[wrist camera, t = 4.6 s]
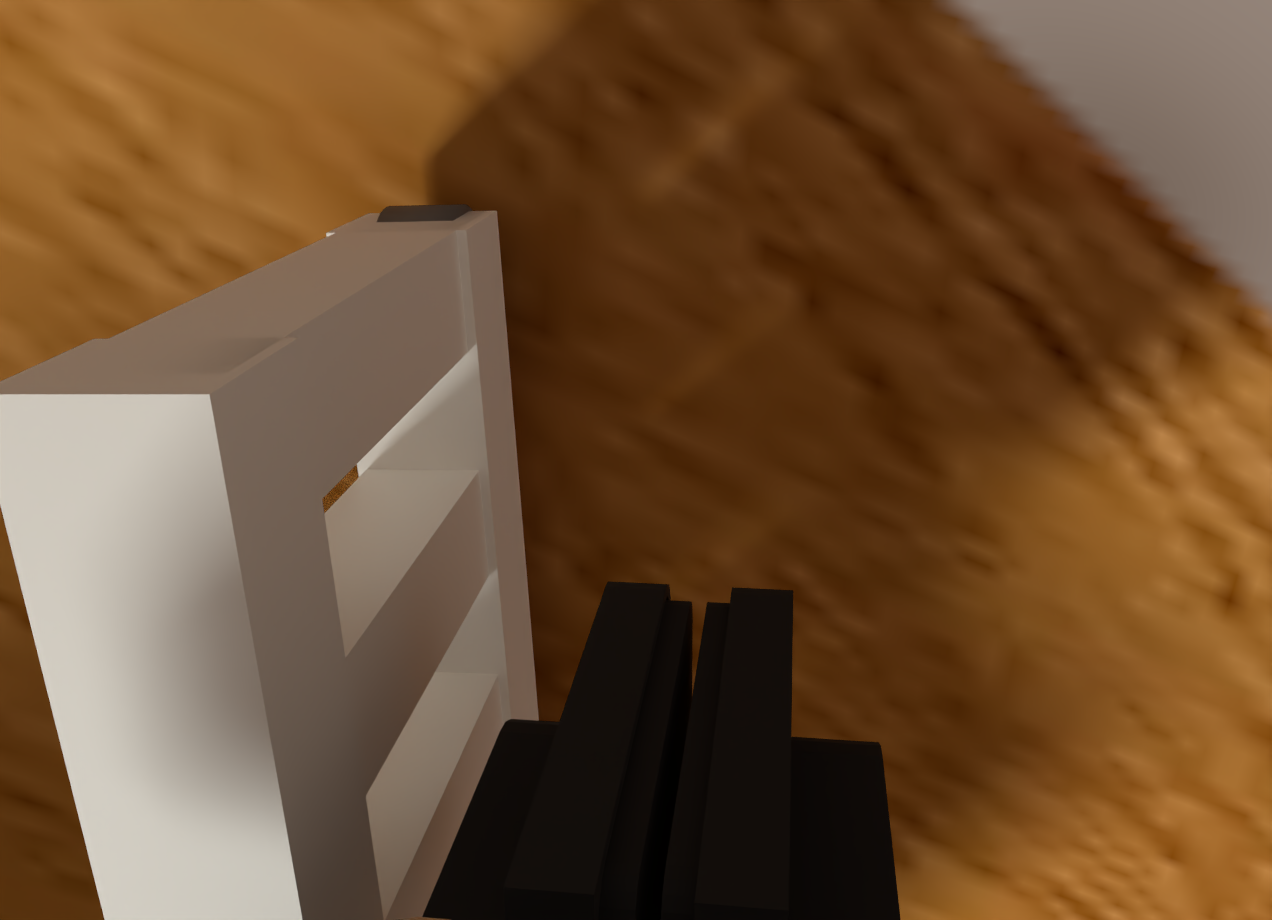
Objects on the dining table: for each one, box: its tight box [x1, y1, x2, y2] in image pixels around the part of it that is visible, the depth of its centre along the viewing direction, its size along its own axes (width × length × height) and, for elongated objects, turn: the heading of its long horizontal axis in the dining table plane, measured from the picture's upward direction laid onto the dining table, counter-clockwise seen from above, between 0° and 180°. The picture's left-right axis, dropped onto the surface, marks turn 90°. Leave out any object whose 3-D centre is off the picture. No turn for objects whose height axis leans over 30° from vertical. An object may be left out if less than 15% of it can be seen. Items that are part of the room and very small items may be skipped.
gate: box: [0, 204, 539, 920], centre depth 11 cm, size 11×1×7 cm, turn 2°
